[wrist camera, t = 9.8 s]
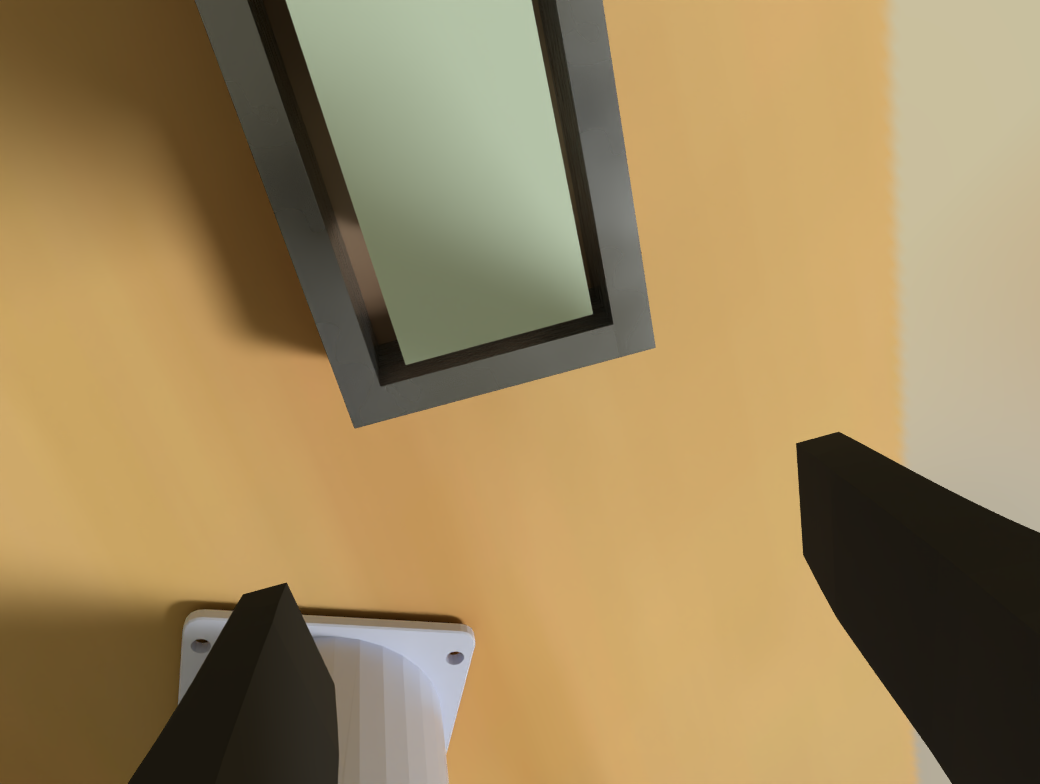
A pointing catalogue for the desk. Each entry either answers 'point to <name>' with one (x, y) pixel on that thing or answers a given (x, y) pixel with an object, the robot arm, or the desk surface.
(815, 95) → the desk surface
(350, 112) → the pale green rectangular block
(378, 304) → the grey rectangular tray
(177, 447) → the desk surface
